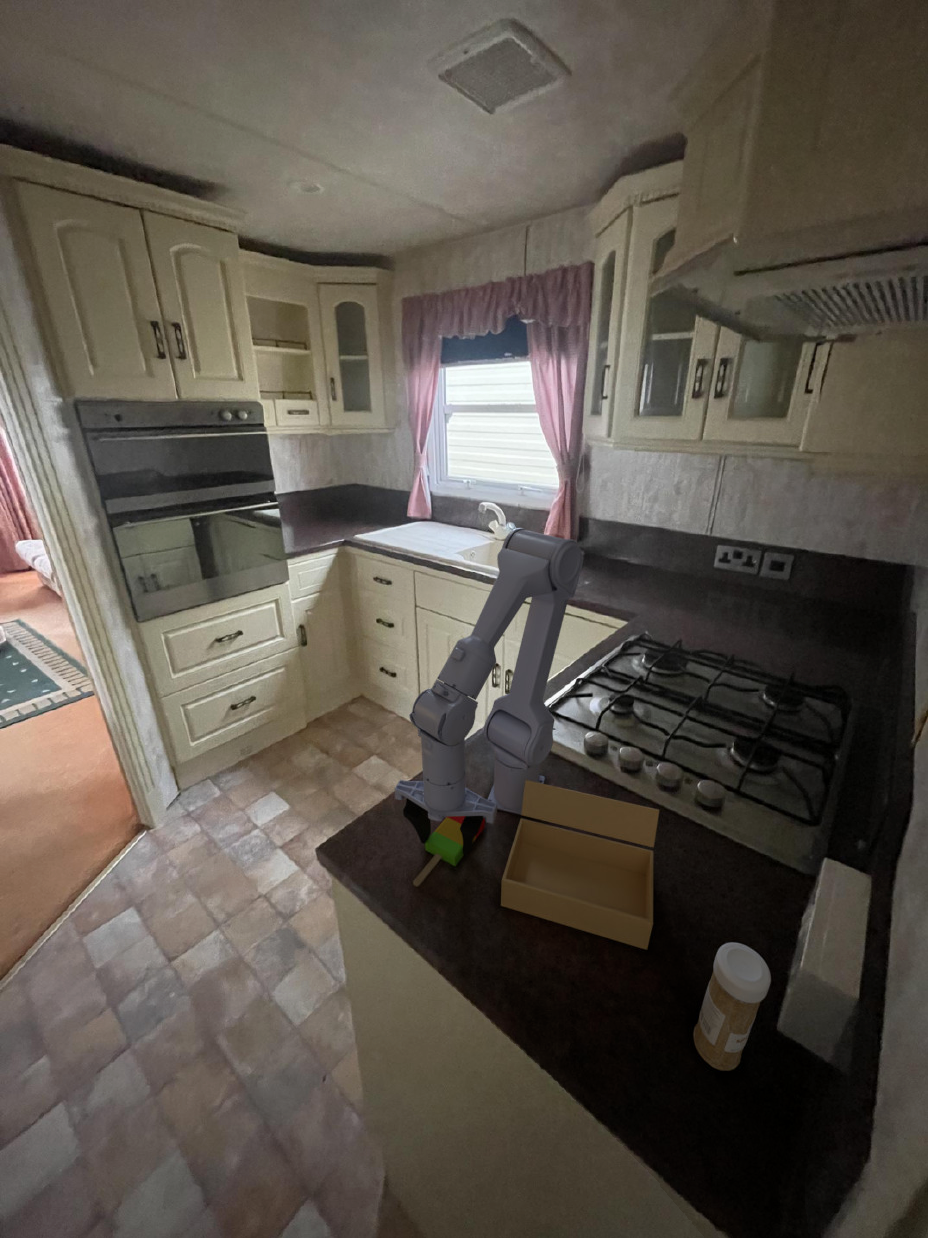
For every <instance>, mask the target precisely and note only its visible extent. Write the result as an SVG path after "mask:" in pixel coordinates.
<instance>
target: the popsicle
mask: <svg viewBox="0 0 928 1238" xmlns="http://www.w3.org/2000/svg"><path fill="white" fill-rule="evenodd" d="M464 818H465V816H448V817H445V819H443V820H442V821H441V823H440V824H439V825H438V827H437V828H436V829H435V830H434V831H433V832H432V833H431V834H430V836H429V838H428V839H427V841H426V842H425V844H424V848H425V849H424V850H425V851H426V852H427V853H430V854H431V855H433V857H432V858H431V859H430V860H429V862H427V864H426V865H425V866H424V868H423V869H422V870H421V871H420V872H419V873H418V875H416V877H415V878H414V879H413V882H412V884H413V886H414V887H417V888H418V887H420V886H421V884H422V883H423V882H424V881H425V879H426V878H427V877H428V876H429V874H430V873H431V872H432V871H433V870H434V868H435V867H436V866H437V865H438V863H439V862H440V860H442V861H445V862H446V863H448V864H450V865H452V866H453V867H456V866H457V865H458V864H459V862H460V861H461V859H462V858H463V857H464V855H463V837H462V833H461V831H460V827H461V824H462V822H463V820H464ZM485 826H486V818H484V819H483V822H482V824H481V827H480V829H479V831H478V833H477V835H476V836H475V837H474V838H473V843H474V842H475V841H476V839H477V838H478V837H479V836H480V834H481V833H482V832H483V831H484V829H485Z"/></svg>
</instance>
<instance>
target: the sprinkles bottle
mask: <svg viewBox="0 0 928 1238" xmlns="http://www.w3.org/2000/svg"><path fill="white" fill-rule="evenodd" d="M771 982H772V976H771V970H770V969H769V966H768V964H767V963H766V961H765V960H764V958H763V957H762V956H761V955H760V954H759V953H758V952H756V951H755V950H754V949H752V948H751V947H750V946H748V945H746V944H743V943H740V942H726V943H724V944H721V946H719V948H718V949H717V952H716V955H715V957H714V961H713V971H712V974H711V977H710V980H709V982H708V985H707V988H706V990H705V993H704V998H703V1000H702V1004H701V1008H700V1011H699V1017H698V1021H697V1023H696V1024H695V1026H694V1029H693V1033H692V1034H693V1035H692V1037H693V1038H692V1039H693V1042H694V1046H695V1049H696V1050H697V1053H698V1054H699V1055H700V1057H701V1058H702V1059H703V1060H704V1061H705V1062H706V1063H707V1064H708V1065H709V1066H711V1067H712V1068H714V1069H716V1070H718V1071H722V1072H723V1071H724V1072H725V1071H727V1072H728V1071H733V1070H735V1069H736V1068H737V1067H738V1066H739V1064H740V1063H741V1058H742V1053H743V1050H744V1047H746V1044H747V1041H748V1039H749V1036H750V1033H751V1031H752V1027H753V1025H754V1022H755V1020H756V1017H757V1012H758V1010H759V1007H760V1005H761V1002H762V1001H763V1000H764V999H765V998H766V997H767V995H768V992H769V989H770V986H771V984H772V983H771Z"/></svg>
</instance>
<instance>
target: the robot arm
mask: <svg viewBox="0 0 928 1238" xmlns="http://www.w3.org/2000/svg"><path fill="white" fill-rule="evenodd" d="M503 541H504V542H503V543H502V546H501V549H500V550H499V552H498V554H497V559H496V561H497V562H496V563H497V569H498V575H497V577H496V578H495V581H494V583H493V585H492V588H491V589H490V592H489V594H488V596H487V599H486V601H485V603H484V605H483V606H482V607H483V608H482V610H481V611H480V614H479V616H478V618H477V620H476V623H475V624H474V627H473V630H472V632H471V634H470V635H469V636H466V637H464V638H460V639H458V640H457V641H456V644H455V645H454V647H453V648H452V650H451V653H450V654H449V656H448V658H447V659H446V661H445V663H444V665H443V666H442V668H441V670H440V672H439V673H438V676H437V677H436V679H435V681H434V683H433V684H432V686H431V688H427V689H425V690H423V691H422V692H420V693H419V694H418V696H417V697H416V699H415V700H414V702H413V705H412V710H411V712H410V713H409V716H408V717H409V720H410V722H411V724H412V725H413V726H414V727H415V728H417V736H418V737H419V738H420V748H421V763H422V764H421V767H422V780H403V779H399V781H398V782H397V784H396V785H395V787H394V789H393V791H394V799H395V800H398V801H403V800H404V799H405V801H406V802H405V806H404V807H403V809H402V813H403V814H402V815H403V817H404V818H406V819H407V820H408V822H410V824H411V825H412V826H413V827H414V829H415V831H416V834H417V836H418V839H419V840H420V843H421V844H424V845H425V842H426V841H427V839H428V838H429V837H430V836H431V834H432V832H431V830H432V823H431V822H432V821H434V822H435V821H436V822H443V821H444V818H446V817H448V816H465V818H464V820H463V822H462V824H461V827H460V831H461V833H462V837H463V856H466V857H467V856H469V855H470V853H471V849H472V847H473V843H474V842H473V838H474V837H475V836H476V835H477V833H478V831H479V829H480V827H481V824H482V822H483V819H484V818H485V823H487V824H492V825H493V824H494V823H495V820H496V817H497V815H498V810H499V811H504V812H508V813H512V814H515V815H520V816H522V815H521V813H522V804H523V796H524V788H525V780H529V781H533V782H538V783H542V784H545V781H546V777H545V776H544V775H540V771H541V763H543V762H544V761H545V760H546V759H547V758H548V756H549V755H550V752H551V750H552V748H553V744H554V735H553V732H554V726H555V721H556V720H555V718H554V716H553V714H552V713H551V712H550V710H549V708H548V707H547V705H546V703H545V702H544V696H545V693H546V689H547V685H548V681H549V677H550V673H551V669H552V665H553V662H554V657H555V654H556V651H557V650H556V649H557V645H558V641H559V637H560V633H561V629H562V627H563V622H564V617H565V614H566V611H567V607H568V603H569V600H570V599H573V598H574V597H575V595H576V590H577V587H578V583H579V580H580V576H581V571H582V568H583V564H584V559H585V558H584V554H583V552H582V550H581V548H580V546H579V543H578V542H577V540H575V539H571V538H563V537H557V536H553V535H549V534H544V533H540V532H536V531H531V530H529V529H527V528H523V527H517V528H514V529H512V530H511V531H510V532H509V533H508V534H507V536H506V537H505V539H504V540H503ZM529 598H531V599H530V604H529V608H528V612H527V616H526V621H525V625H524V628H523V633H522V637H521V641H520V645H519V648H518V649H519V650H518V654H517V658H516V662H515V667H514V670H513V674H512V679H511V684H510V687H509V691H508V693H507V694H504V695H502V696H499V697H498V698H496V699H494V700H493V704H492V708H491V710H490V712H489V714H488V715H487V717H486V719H485V722H484V726H483V736H484V738H485V739H486V740H487V741H488V742H489V743H490V749H491V750H492V751H493V753H494V755H493V756H494V758H493V759H494V760H493V761H494V763H493V785H492V787H491V790H490V792H489V795H488V797H487V798H484V797H483V796H481V795H479V794H477V793H476V792H474V791H472V790H471V789H469V788H467V787H466V738H467V737H468V735H469V734H470V732H471V731H472V729H473V727H474V724H475V721H476V711H477V708H478V704H479V701H476V700H477V698H478V697H479V695H480V693H481V691H482V689H483V688H484V686H485V684H486V682H487V680H488V678H489V677H490V674H491V673H492V671H493V669H494V667H495V665H496V663H497V657H496V651H495V647H496V646H497V644H498V643H499V641H500V640H501V638H502V637H503V636H504V634H505V632H506V630H507V629H508V627H509V626H510V624H511V623H512V621H513V620H514V618H515V617H516V615H517V614H518V612H519V610H520V609H521V607H522V606H523V605H524V603H525V601H526V600H527V599H529ZM431 820H432V821H431Z"/></svg>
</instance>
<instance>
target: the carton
mask: <svg viewBox="0 0 928 1238" xmlns="http://www.w3.org/2000/svg"><path fill="white" fill-rule="evenodd" d="M511 845H512V846H511V849H510V852H509V855H508V859H507V861H506V865H505V867H504V872H503V875H502V878H501V887H500V888H501V889H500V891H501V893H500V906H501V907H504V908H507V909H510V910H513V911H517V912H519V913H523V914H527V915H530V916H533V917H537V918H540V919H544V920H547V921H549V922H553V923H557V924H560V925H563V926H567V927H570V928H573V929H577V930H580V931H583V932H585V933H590V934H593V935H596V936H600V937H603V938H607V939H610V940H612V941H616V942H620V943H622V944H626V945H629V946H632V947H636V948H639V949H643V950H646V951H648V949H649V943H650V939H651V935H652V930H653V925H654V850H651V849H648V848H643V847H639V846H635V845H632V844H628V843H624V842H623V843H622V842H619V841H614V840H611V839H607V838H603V837H599V836H595V835H592V834H591V835H590V834H587V833H582V832H579V831H574V830H571V829H566V828H562V827H559V826H554V825H551V824H546V823H542V822H538V821H534V820H531V819H526V818H522V817H521V818H520V820H519V823H518V826H517V829H516V832H515V836H514V839H513V842H512V844H511Z"/></svg>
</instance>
